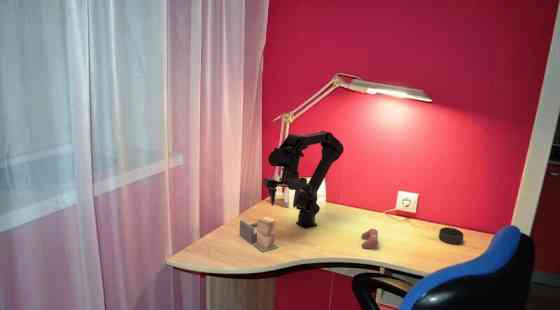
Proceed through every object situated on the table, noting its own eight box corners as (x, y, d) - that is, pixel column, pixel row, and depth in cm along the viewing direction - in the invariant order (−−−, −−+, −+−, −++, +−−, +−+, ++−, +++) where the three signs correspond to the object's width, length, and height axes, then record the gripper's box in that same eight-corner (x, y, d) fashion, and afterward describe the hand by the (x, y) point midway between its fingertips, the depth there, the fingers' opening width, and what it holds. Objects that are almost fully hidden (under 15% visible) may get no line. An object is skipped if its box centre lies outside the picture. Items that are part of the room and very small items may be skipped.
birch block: (264, 241, 149) (265, 216, 146) (273, 245, 146) (275, 219, 144) (256, 245, 145) (257, 219, 143) (266, 249, 142) (267, 223, 140)
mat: (267, 240, 150) (267, 239, 150) (278, 247, 145) (278, 246, 145) (252, 244, 146) (252, 243, 146) (262, 252, 141) (262, 251, 141)
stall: (259, 230, 159) (259, 216, 157) (271, 238, 152) (271, 223, 151) (239, 234, 154) (240, 220, 152) (251, 243, 147) (251, 228, 146)
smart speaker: (460, 237, 162) (461, 228, 161) (464, 247, 154) (465, 237, 153) (437, 234, 165) (438, 225, 164) (439, 243, 156) (441, 233, 155)
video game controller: (370, 253, 147) (381, 239, 145) (360, 247, 148) (370, 232, 146) (370, 242, 157) (379, 228, 155) (360, 236, 157) (369, 222, 155)
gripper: (276, 168, 141) (268, 210, 142) (321, 174, 148) (313, 214, 150) (265, 162, 151) (258, 202, 153) (308, 168, 158) (301, 206, 160)
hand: (283, 206), depth 153 cm, fingers open, 9 cm apart
